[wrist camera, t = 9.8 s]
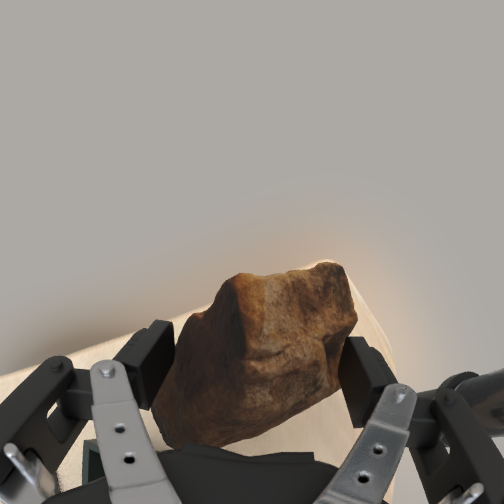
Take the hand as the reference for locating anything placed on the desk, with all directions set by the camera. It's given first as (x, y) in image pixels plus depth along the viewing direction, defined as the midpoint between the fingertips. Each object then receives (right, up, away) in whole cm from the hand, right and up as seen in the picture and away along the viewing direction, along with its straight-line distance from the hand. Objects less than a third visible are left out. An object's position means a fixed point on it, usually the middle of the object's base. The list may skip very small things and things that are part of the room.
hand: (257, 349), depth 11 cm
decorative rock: (0, -5, +5) cm, 7 cm away
